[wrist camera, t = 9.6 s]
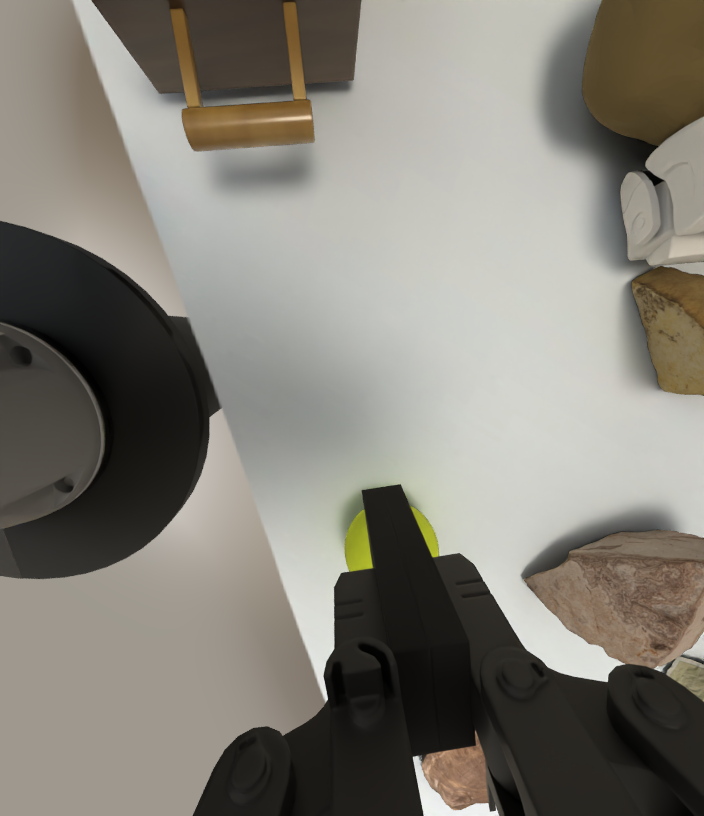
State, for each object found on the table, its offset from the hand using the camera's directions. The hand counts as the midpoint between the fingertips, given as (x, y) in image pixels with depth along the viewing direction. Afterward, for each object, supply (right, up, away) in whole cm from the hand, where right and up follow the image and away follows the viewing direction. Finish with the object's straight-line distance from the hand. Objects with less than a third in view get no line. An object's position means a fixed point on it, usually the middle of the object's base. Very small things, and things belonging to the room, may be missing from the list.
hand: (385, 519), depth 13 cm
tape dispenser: (+21, +17, +12) cm, 29 cm away
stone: (+22, -9, +18) cm, 30 cm away
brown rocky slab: (+12, -32, +23) cm, 41 cm away
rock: (+24, +10, +14) cm, 29 cm away
